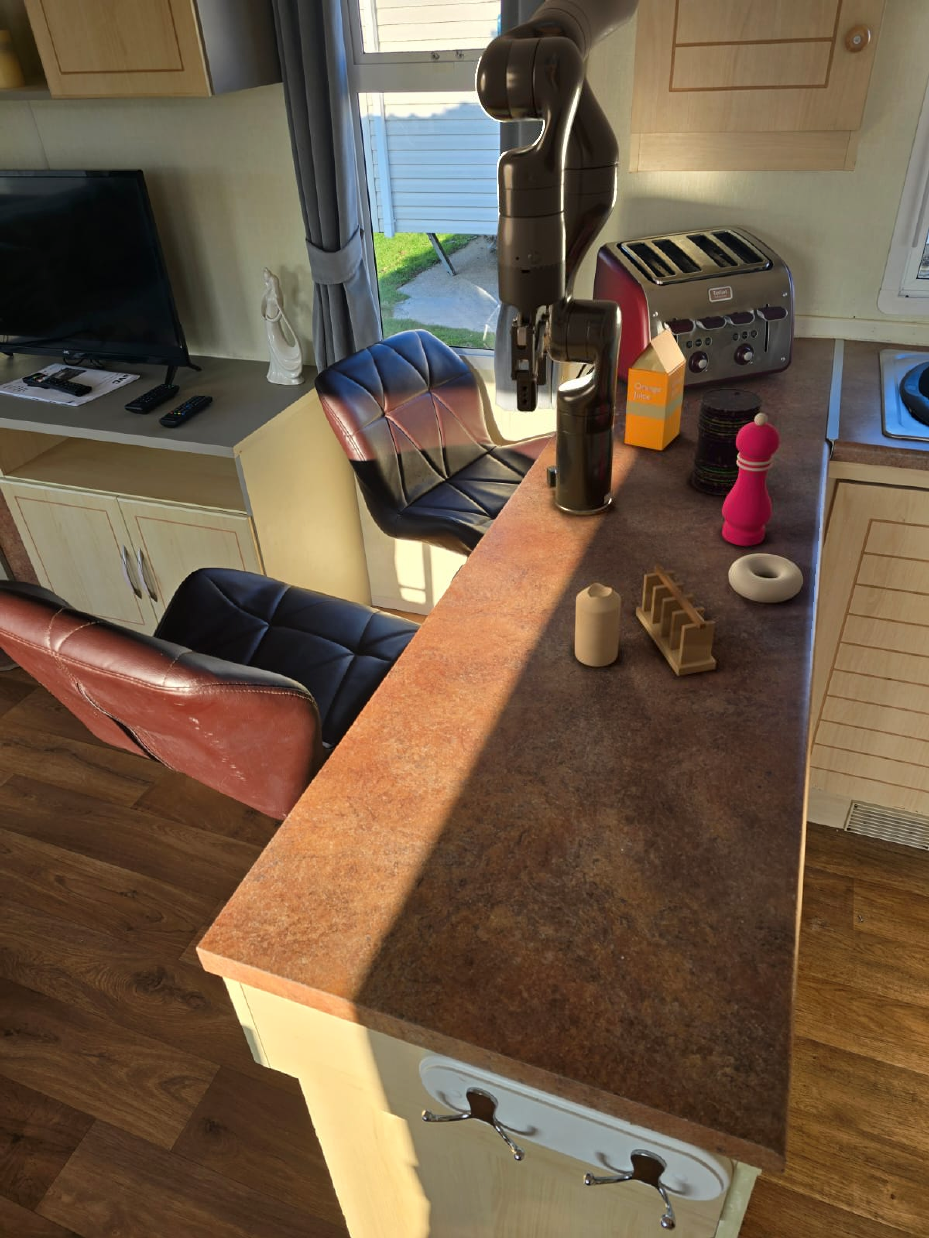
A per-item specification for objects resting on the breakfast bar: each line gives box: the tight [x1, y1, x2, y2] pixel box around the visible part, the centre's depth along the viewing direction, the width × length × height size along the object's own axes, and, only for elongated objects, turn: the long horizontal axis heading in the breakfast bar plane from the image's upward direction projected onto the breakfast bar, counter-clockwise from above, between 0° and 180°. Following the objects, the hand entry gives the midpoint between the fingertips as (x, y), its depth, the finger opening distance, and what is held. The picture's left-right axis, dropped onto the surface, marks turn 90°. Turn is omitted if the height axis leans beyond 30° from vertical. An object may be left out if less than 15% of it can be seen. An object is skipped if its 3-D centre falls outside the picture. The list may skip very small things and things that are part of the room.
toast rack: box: [635, 564, 717, 677], centre depth 110 cm, size 14×5×8 cm, turn 12°
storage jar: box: [691, 387, 763, 496], centre depth 143 cm, size 10×10×15 cm
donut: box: [727, 553, 804, 604], centre depth 120 cm, size 10×4×10 cm
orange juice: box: [624, 327, 687, 451], centre depth 158 cm, size 8×9×20 cm
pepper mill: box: [721, 412, 781, 547], centre depth 127 cm, size 7×7×20 cm
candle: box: [574, 582, 622, 668], centre depth 107 cm, size 6×6×10 cm
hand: (532, 397), depth 104 cm, fingers open, 8 cm apart
